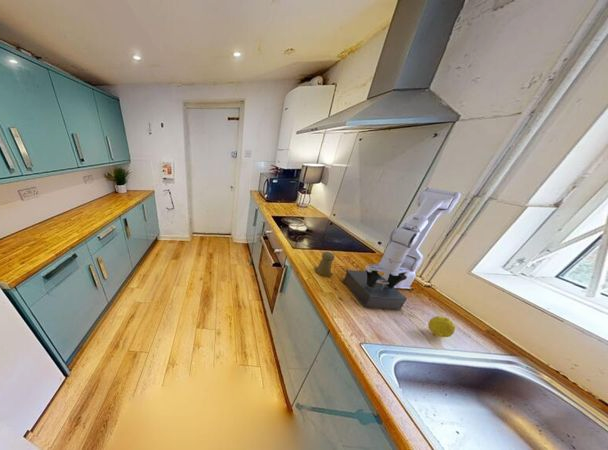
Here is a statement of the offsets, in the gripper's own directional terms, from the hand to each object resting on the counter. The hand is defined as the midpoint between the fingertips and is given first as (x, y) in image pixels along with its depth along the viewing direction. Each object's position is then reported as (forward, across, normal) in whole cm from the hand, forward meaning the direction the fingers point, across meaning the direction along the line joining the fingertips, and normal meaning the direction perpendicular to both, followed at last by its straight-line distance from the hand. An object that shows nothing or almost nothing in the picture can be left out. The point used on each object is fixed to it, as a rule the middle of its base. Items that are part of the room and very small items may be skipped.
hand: (378, 286), depth 80 cm
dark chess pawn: (+7, -13, +16) cm, 22 cm away
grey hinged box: (+6, 0, +2) cm, 7 cm away
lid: (+1, 0, +3) cm, 3 cm away
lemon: (+7, +10, -16) cm, 20 cm away
